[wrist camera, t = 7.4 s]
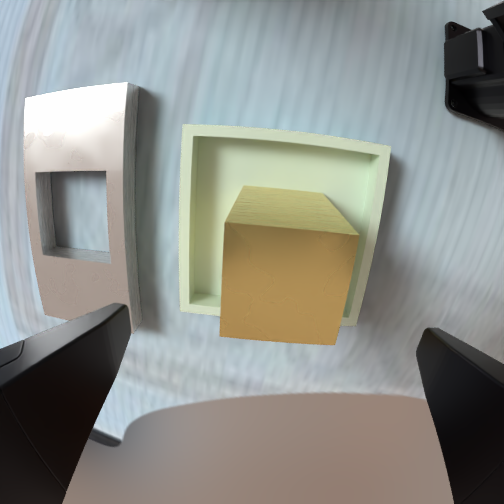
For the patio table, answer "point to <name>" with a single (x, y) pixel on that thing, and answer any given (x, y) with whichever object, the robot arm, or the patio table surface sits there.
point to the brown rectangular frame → (118, 196)
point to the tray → (273, 176)
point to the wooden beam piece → (285, 267)
